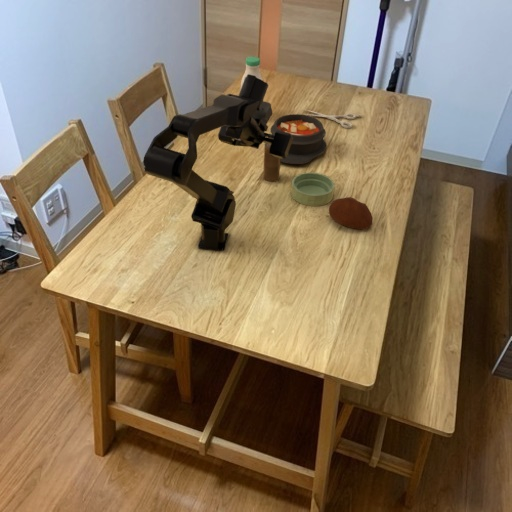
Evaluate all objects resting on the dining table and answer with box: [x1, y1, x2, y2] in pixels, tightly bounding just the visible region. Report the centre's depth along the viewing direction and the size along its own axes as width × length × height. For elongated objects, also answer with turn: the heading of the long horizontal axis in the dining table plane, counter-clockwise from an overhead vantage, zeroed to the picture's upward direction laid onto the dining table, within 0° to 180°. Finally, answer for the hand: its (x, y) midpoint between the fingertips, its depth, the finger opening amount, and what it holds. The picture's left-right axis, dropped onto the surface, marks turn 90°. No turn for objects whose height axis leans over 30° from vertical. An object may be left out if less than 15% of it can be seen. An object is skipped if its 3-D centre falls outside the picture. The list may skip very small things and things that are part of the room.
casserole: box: [270, 113, 327, 165], centre depth 163 cm, size 25×19×8 cm
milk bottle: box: [240, 56, 264, 89], centre depth 176 cm, size 8×8×20 cm
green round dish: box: [290, 171, 335, 207], centre depth 145 cm, size 12×12×4 cm
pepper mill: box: [262, 138, 281, 183], centre depth 148 cm, size 5×5×13 cm
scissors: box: [304, 109, 362, 129], centre depth 183 cm, size 11×1×20 cm
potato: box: [328, 196, 374, 230], centre depth 134 cm, size 8×12×8 cm, turn 74°
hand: (264, 148), depth 140 cm, fingers open, 9 cm apart
